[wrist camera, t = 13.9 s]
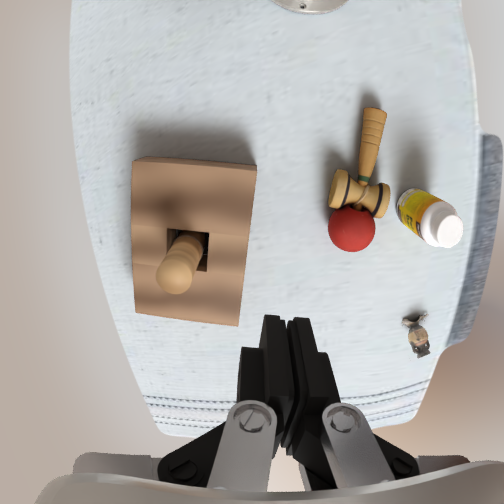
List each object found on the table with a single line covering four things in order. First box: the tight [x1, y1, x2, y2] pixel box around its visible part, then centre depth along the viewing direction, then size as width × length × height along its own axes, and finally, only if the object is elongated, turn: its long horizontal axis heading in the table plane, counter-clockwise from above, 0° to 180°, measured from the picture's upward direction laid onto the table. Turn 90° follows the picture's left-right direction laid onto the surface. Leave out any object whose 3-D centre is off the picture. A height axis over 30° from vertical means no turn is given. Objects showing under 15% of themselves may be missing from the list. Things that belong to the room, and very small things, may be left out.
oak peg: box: [156, 230, 206, 294], centre depth 35 cm, size 4×4×12 cm
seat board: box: [131, 157, 257, 326], centre depth 38 cm, size 20×14×5 cm
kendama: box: [328, 108, 390, 252], centre depth 36 cm, size 8×6×18 cm
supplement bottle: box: [397, 188, 463, 248], centre depth 34 cm, size 6×6×10 cm
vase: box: [402, 314, 430, 361], centre depth 44 cm, size 5×5×6 cm
